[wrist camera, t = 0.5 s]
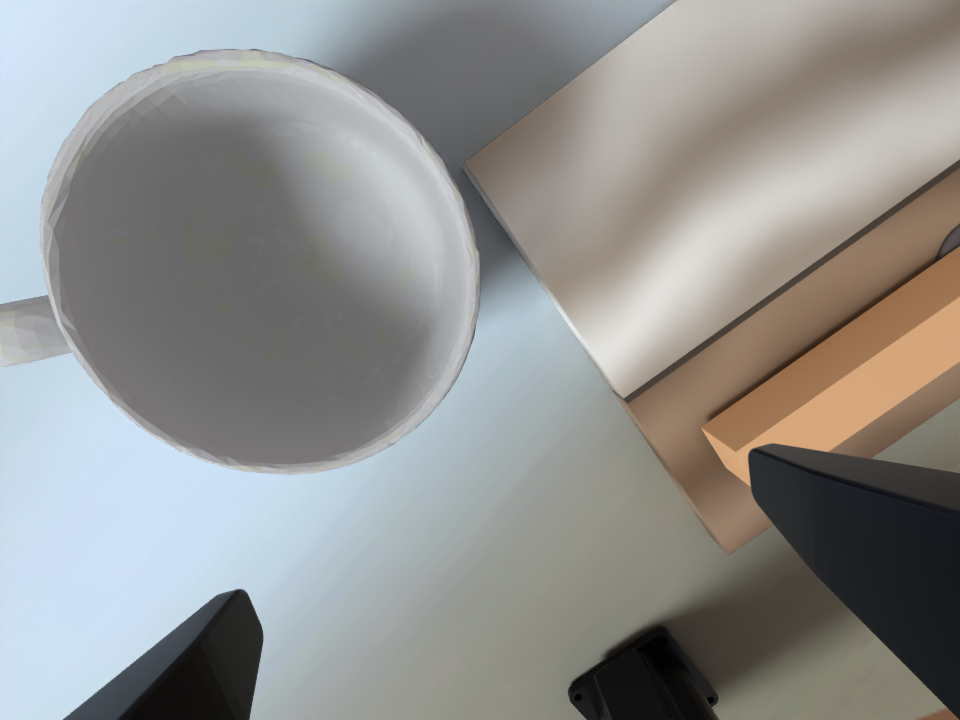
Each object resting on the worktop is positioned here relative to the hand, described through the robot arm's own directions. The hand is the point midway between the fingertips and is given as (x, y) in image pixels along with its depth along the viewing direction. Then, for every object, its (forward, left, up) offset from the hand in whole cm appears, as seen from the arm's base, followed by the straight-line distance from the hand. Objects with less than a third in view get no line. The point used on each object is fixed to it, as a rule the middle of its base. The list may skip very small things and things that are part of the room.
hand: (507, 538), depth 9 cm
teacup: (+7, +3, -14) cm, 16 cm away
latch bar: (-10, -14, -11) cm, 21 cm away
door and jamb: (-5, -16, -14) cm, 22 cm away
